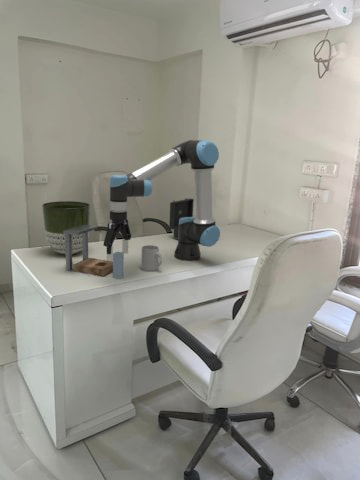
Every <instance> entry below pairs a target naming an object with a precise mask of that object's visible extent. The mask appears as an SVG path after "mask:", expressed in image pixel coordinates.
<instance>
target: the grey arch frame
mask: <svg viewBox="0 0 360 480" xmlns="http://www.w3.org/2000/svg"><path fill="white" fill-rule="evenodd" d="M98 228H99V226H98V225H92V224H89V225H85V224H84V225H80V226H77V227H74V228H70V229H67V230H64V231H63V233H65V246H66V254H65V265H66V266H65V270H66V272H72V271H73V254H72V237H71V234H72V235H80V234H82V250H81V251H82V260H85V259H87V258H89V237H88V232H89V233H90V232H92V231H95V230H97V229H98Z"/></svg>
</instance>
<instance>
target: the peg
mask: <svg viewBox="0 0 360 480" xmlns="http://www.w3.org/2000/svg"><path fill="white" fill-rule="evenodd" d="M124 255H125V253H123V252H122V251H115V252H113V261H112V262H113V272H112V278H113V279H118V280H120V279H122V278H124V270H125V268H124V265H125V262H124V259H125V258H124Z"/></svg>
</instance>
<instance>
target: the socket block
mask: <svg viewBox="0 0 360 480" xmlns="http://www.w3.org/2000/svg"><path fill="white" fill-rule="evenodd" d="M73 265H74V267H73V268H74V272H77V273H82V274H86V275H91V274H92V276H96V275H97V277H102V278H105V277H106V276H108V275H110V274H113V261H107V259H106V260H105V259H100V258H94V257H88V258H87V259H85V260H83V259H82V260H81V261H78V262H76V263H74V264H73Z"/></svg>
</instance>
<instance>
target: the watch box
mask: <svg viewBox="0 0 360 480" xmlns="http://www.w3.org/2000/svg"><path fill="white" fill-rule="evenodd" d="M193 214H194V198H187V197H185V198H184V199H181V200H173V201H171V202H170V204H169V224H168V225H169V227H168V228H169V229H170V230H173V237H174V238H176V239H178V228H179V225H178V224H179V219H180V218H183V217H194V215H193Z"/></svg>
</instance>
